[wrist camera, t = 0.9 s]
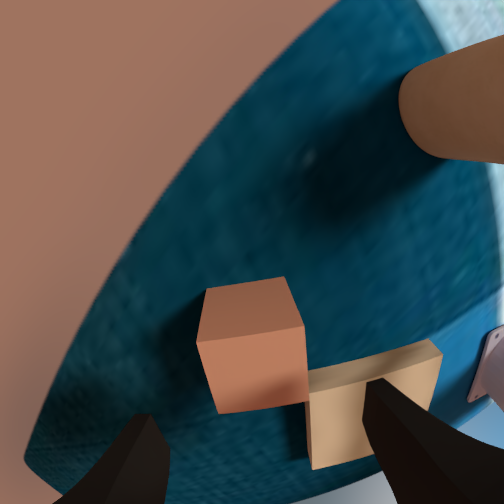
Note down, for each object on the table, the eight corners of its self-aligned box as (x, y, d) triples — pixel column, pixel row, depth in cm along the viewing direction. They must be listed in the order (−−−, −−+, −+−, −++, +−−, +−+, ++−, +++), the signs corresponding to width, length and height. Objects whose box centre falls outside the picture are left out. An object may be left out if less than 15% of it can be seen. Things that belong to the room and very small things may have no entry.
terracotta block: (283, 276, 16) (304, 325, 11) (291, 340, 17) (309, 400, 12) (206, 288, 16) (196, 342, 11) (221, 351, 17) (218, 413, 12)
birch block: (425, 335, 18) (443, 354, 16) (407, 418, 21) (418, 437, 18) (301, 367, 18) (309, 393, 16) (306, 446, 21) (312, 469, 18)
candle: (408, 164, 14) (567, 189, 5) (385, 65, 13) (524, 3, 3) (475, 153, 14) (608, 172, 4) (456, 67, 12) (582, 40, 3)
